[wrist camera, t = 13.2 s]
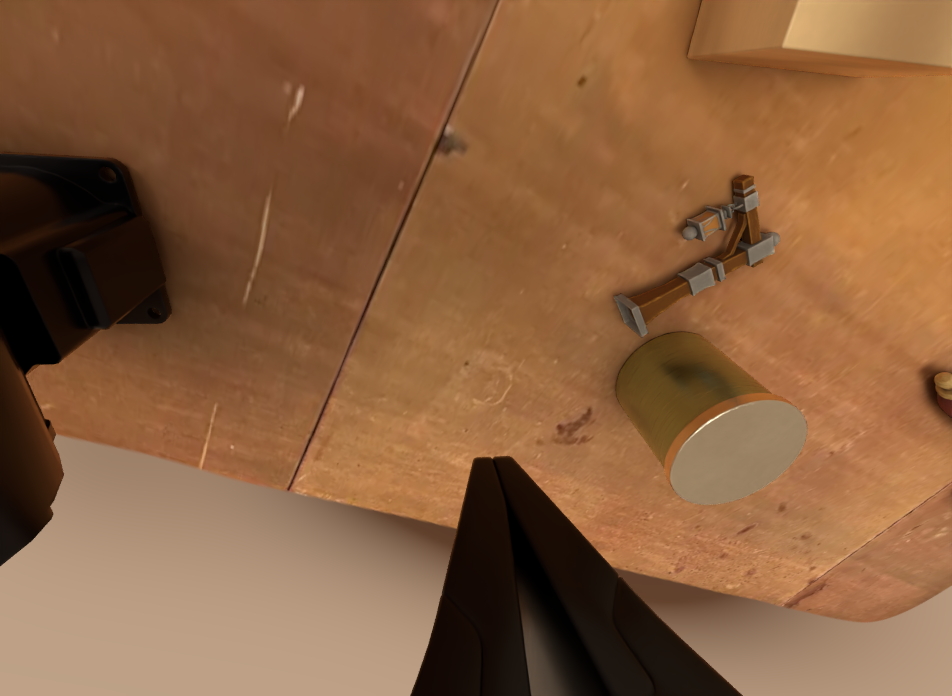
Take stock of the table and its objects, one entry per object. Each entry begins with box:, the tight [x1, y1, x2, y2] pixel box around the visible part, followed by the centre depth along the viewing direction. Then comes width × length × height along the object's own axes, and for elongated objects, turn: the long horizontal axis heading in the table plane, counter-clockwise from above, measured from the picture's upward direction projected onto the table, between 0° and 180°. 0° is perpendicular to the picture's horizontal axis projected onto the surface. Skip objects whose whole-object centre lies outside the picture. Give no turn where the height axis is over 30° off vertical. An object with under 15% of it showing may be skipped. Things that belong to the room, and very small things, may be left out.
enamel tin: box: [616, 332, 807, 505], centre depth 22 cm, size 6×6×6 cm
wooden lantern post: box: [614, 175, 780, 338], centre depth 20 cm, size 2×8×4 cm
